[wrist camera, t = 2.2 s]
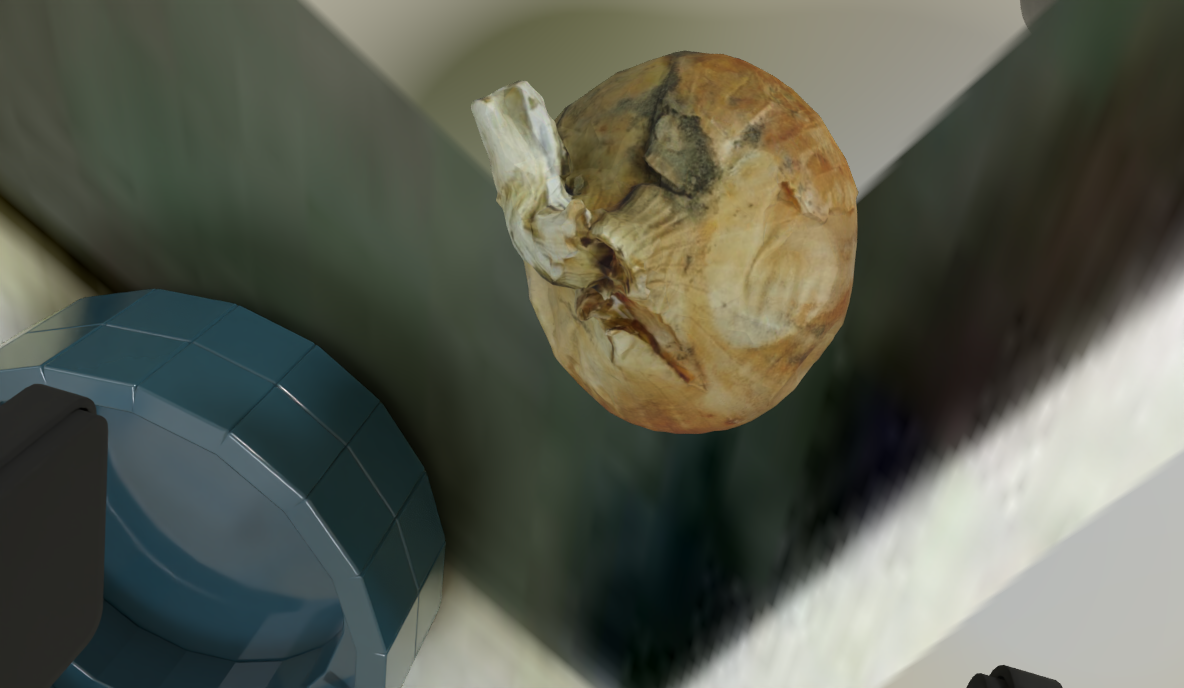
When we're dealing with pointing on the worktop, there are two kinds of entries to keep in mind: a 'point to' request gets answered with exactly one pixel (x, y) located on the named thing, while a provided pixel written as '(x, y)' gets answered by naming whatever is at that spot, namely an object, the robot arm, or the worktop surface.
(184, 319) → the bowl
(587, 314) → the onion
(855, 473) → the worktop surface
